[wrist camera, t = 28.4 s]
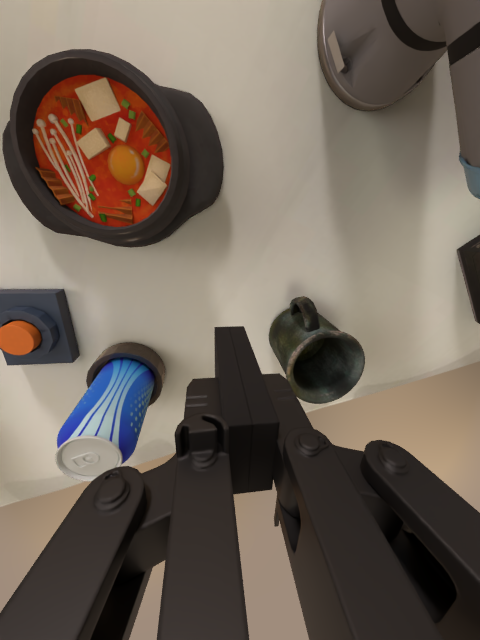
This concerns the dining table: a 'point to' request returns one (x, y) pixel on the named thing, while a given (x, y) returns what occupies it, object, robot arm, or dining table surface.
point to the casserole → (109, 150)
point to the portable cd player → (472, 272)
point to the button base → (41, 324)
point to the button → (19, 337)
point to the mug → (315, 353)
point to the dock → (132, 352)
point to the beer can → (106, 420)
